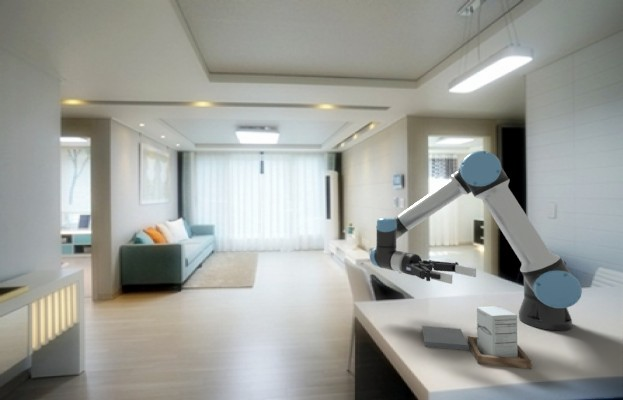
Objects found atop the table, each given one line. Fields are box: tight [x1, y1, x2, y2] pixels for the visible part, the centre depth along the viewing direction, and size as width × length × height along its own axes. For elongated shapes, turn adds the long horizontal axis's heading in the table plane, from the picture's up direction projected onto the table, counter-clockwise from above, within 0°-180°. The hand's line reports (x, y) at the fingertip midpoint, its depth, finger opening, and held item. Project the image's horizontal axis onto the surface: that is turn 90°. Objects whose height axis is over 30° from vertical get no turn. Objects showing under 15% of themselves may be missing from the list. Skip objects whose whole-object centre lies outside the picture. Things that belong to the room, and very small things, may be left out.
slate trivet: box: [421, 325, 470, 351], centre depth 99 cm, size 12×12×2 cm
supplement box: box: [476, 305, 519, 358], centre depth 89 cm, size 7×7×13 cm
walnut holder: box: [467, 336, 532, 370], centre depth 89 cm, size 12×12×2 cm
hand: (464, 275), depth 97 cm, fingers open, 13 cm apart
